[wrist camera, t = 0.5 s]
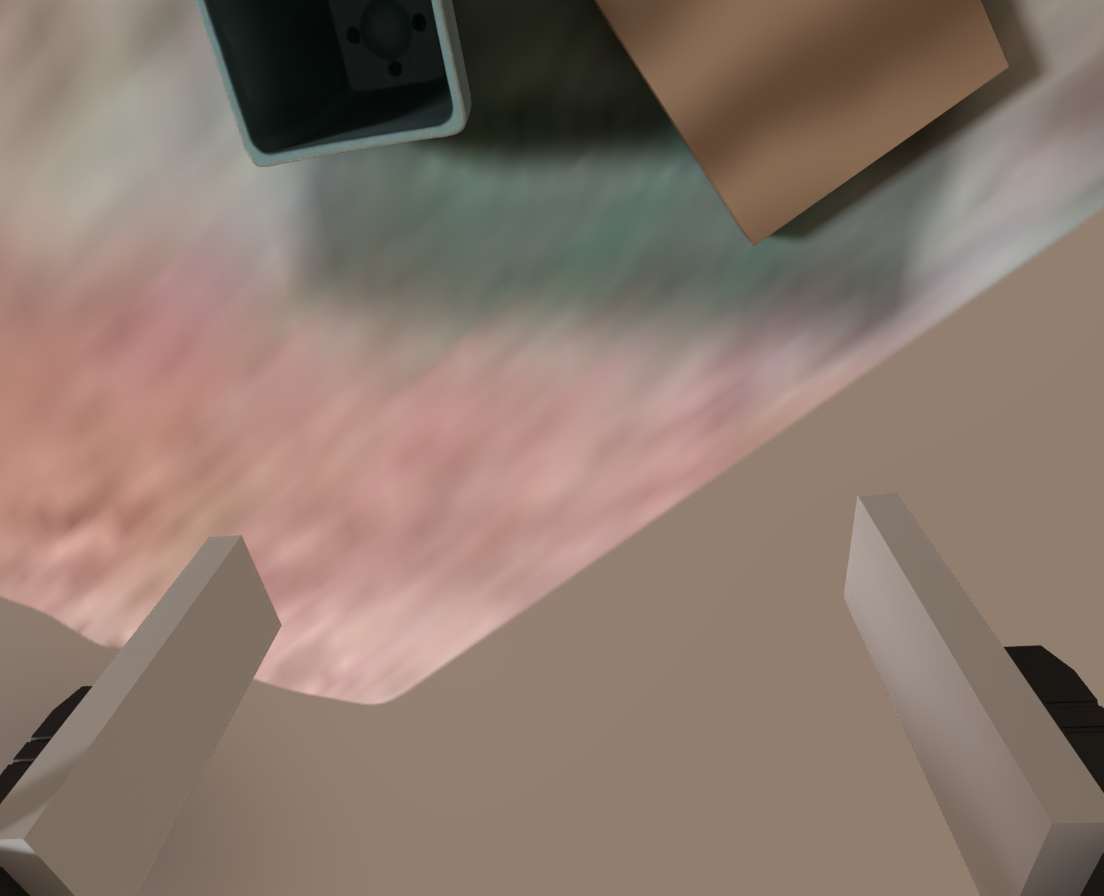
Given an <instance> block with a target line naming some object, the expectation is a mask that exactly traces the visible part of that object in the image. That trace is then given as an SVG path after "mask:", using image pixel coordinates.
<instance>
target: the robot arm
mask: <svg viewBox="0 0 1104 896" xmlns="http://www.w3.org/2000/svg"><path fill="white" fill-rule="evenodd" d="M844 599H845V601H846V603H847V606H848V608H849V610H850V612H851V614H852V617H853V619H854V621H855V623H856V625H857V628H858V630H859V632H860V634H861V636H862V638H863V641H864V643H865V645H866V647H867V649H868V651H869V654H870V656H871V658H872V660H873V663H874V664H875V667H876V669H877V671H878V673H879V676H880V678H881V680H882V682H883V684H884V687H885V689H886V691H887V693H888V695H889V697H890V699H891V702H892V704H893V706H894V708H895V711H896V713H897V715H898V717H899V719H900V721H901V723H902V726H903V728H904V730H905V732H906V735H907V737H908V739H909V741H910V743H911V746H912V748H913V750H914V752H915V754H916V756H917V759H918V761H919V763H920V765H921V767H922V770H923V772H924V774H925V776H926V778H927V780H928V782H929V785H930V787H931V789H932V791H933V794H934V796H935V798H936V800H937V802H938V804H939V807H940V809H941V811H942V813H943V815H944V817H945V820H946V822H947V824H948V826H949V829H950V831H951V833H952V835H953V837H954V839H955V842H956V844H957V846H958V848H959V850H960V852H961V855H962V857H963V859H964V861H965V863H966V866H967V868H968V870H969V872H970V874H971V876H972V879H973V881H974V883H975V885H976V887H977V890H978V892H979V894H980V896H1104V708H1103V707H1102V706H1099V705H1098V703H1097V699H1096V698H1095V696H1094V695H1093V694H1092V693H1091V691H1090V690H1089V689H1088V687H1087V686H1086V685H1085V684H1084V682H1083V681H1082V680H1081V679H1080V677H1079V676H1078V675H1077V673H1076V672H1075V671H1074V670H1073V669H1072V668H1070V667H1069V666H1068V665H1066V664H1065V663H1063V662H1062V661H1061V660H1060V659H1058V658H1057V657H1056V656H1054V655H1053V654H1052V653H1050V652H1049V651H1047V650H1046V649H1045V648H1044V647H1042V646H1040V645H1039V646H1016V647H1003V646H1002V644H1001V643H1000V641H999V640H998V638H997V637H996V636H995V634H994V633H993V631H992V630H991V628H990V627H989V625H988V624H987V623H986V621H985V620H984V618H983V617H982V615H981V614H980V612H979V611H978V609H977V608H976V606H975V605H974V604H973V602H972V601H971V599H970V598H969V596H968V595H967V593H966V592H965V590H964V589H963V588H962V586H961V585H960V583H959V582H958V580H957V579H956V577H955V576H954V574H953V573H952V571H951V570H950V569H949V567H948V566H947V564H946V563H945V561H944V560H943V558H942V557H941V555H940V554H939V553H938V551H937V550H936V548H935V547H934V545H933V544H932V542H931V541H930V539H929V538H928V537H927V535H926V534H925V532H924V531H923V529H922V528H921V526H920V525H919V523H918V522H917V521H916V519H915V518H914V516H913V515H912V513H911V512H910V510H909V509H908V508H907V506H906V504H905V503H904V502H903V500H902V499H901V497H900V496H899V494H898V493H890V494H889V493H888V494H873V495H859V496H858V497H857V505H856V512H855V519H854V527H853V533H852V541H851V548H850V555H849V563H848V570H847V578H846V585H845V591H844ZM280 627H281V623H280V621H279V619H278V616H277V614H276V612H275V610H274V607H273V605H272V603H271V601H270V598H269V596H268V594H267V592H266V589H265V587H264V585H263V583H262V580H261V578H260V576H259V574H258V571H257V569H256V567H255V565H254V562H253V560H252V558H251V556H250V553H249V551H248V549H247V547H246V544H245V542H244V540H243V538H242V535H240V536H224V537H209V538H208V539H207V541H206V542H205V543H204V545H203V546H202V547H201V548H200V550H199V551H198V552H197V554H196V555H195V556H194V557H193V559H192V560H191V561H190V562H189V564H188V565H187V566H186V568H185V569H184V570H183V571H182V573H181V574H180V575H179V577H178V578H177V579H176V580H175V582H174V583H173V584H172V586H171V587H170V588H169V589H168V591H167V592H166V593H165V594H164V596H163V597H162V598H161V600H160V601H159V602H158V603H157V605H156V606H155V607H154V609H153V610H152V611H151V612H150V614H149V615H148V616H147V617H146V619H145V620H144V621H143V623H142V624H141V625H140V626H139V628H138V629H137V630H136V632H135V633H134V634H133V635H132V637H131V638H130V639H129V640H128V642H127V643H126V644H125V646H124V647H123V648H122V649H121V651H120V652H119V653H118V655H117V656H116V657H115V658H114V660H113V661H112V662H111V663H110V665H109V666H108V667H107V669H106V670H105V671H104V672H103V674H102V675H101V676H100V678H99V679H98V680H97V681H96V683H95V684H94V685H93V686H83V687H81V688H80V689H78V690H77V691H76V692H75V693H74V694H72V695H71V696H70V697H69V698H68V699H66V700H65V701H64V702H63V703H61V704H60V705H59V706H58V707H56V708H55V709H54V710H53V711H52V712H51V713H50V715H49V716H48V717H47V718H46V719H45V721H44V722H43V723H42V724H41V726H40V727H39V728H38V729H37V731H36V732H35V733H34V734H33V735H32V737H31V738H32V739H31V742H27V743H26V744H25V745H24V747H23V748H22V749H21V750H20V751H19V753H18V754H17V755H16V756H15V758H14V759H13V760H14V762H13V764H12V765H8V766H7V767H6V769H5V770H4V771H3V772H2V774H1V775H0V896H136V895H137V893H138V891H139V889H140V887H141V886H142V884H143V882H144V880H145V878H146V876H147V874H148V873H149V871H150V869H151V867H152V865H153V863H154V861H155V860H156V858H157V856H158V854H159V852H160V850H161V848H162V846H163V845H164V843H165V841H166V839H167V837H168V835H169V833H170V832H171V830H172V828H173V826H174V824H175V822H176V820H177V819H178V817H179V815H180V813H181V811H182V809H183V807H184V806H185V804H186V802H187V800H188V798H189V796H190V795H191V793H192V791H193V789H194V787H195V785H196V783H197V782H198V780H199V778H200V776H201V774H202V772H203V770H204V768H205V767H206V764H207V763H208V761H209V759H210V757H211V755H212V753H213V752H214V750H215V748H216V746H217V744H218V742H219V741H220V739H221V737H222V735H223V733H224V731H225V729H226V728H227V726H228V724H229V722H230V720H231V718H232V716H233V714H234V712H235V711H236V709H237V707H238V705H239V703H240V701H241V700H242V698H243V696H244V694H245V692H246V690H247V689H248V687H249V685H250V683H251V681H252V679H253V677H254V676H255V674H256V672H257V670H258V668H259V666H260V664H261V663H262V661H263V659H264V657H265V655H266V653H267V651H268V650H269V648H270V646H271V644H272V642H273V640H274V638H275V636H276V635H277V633H278V631H279V629H280Z"/></svg>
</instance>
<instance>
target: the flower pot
mask: <svg viewBox="0 0 1104 896" xmlns="http://www.w3.org/2000/svg"><path fill="white" fill-rule="evenodd" d="M195 4H196V7H197V9H198V11H199V14H200V18H201V21H202V24H203V26H204V29H205V32H206V36H207V38H208V40H209V43H210V46H211V49H212V52H213V55H214V57H215V61H216V65H217V68H218V70H219V72H220V76H221V79H222V82H223V85H224V87H225V92H226V95H227V97H228V99H229V102H230V106H231V109H232V112H233V115H234V117H235V121H236V124H237V127H238V130H239V133H240V135H241V139H242V142H243V145H244V147H245V150H246V152H247V154H248V156H249V158H250V159H251V161H252V162H253V163H254V164H255V165H256V166H259V167H268V166H274V165H279V164H283V163H289V162H294V161H299V160H304V159H310V158H314V157H321V156H325V155H331V154H336V153H342V152H348V151H354V150H360V149H366V148H372V147H378V146H384V145H391V144H397V143H403V142H409V141H417V140H424V139H431V138H438V137H447V136H451V135H455V134H458V133H459V132H461V131H462V130H463V129H464V127H465V125H466V122H467V120H468V117H469V114H470V110H471V95H470V90H469V85H468V80H467V74H466V69H465V64H464V59H463V54H462V49H461V44H460V39H459V34H458V29H457V23H456V18H455V13H454V8H453V3H452V0H195ZM418 17H422V18H423V19H424V20H425V22H426V27H425V29H424V30H419V29H418V28H417V27H416V24H415V22H416V19H417V18H418ZM352 29H354V30H356V31H357V32H358V33H359V36H360V39H359V41H358V42H356V43H353V42H352V41H350V39H349V32H350V30H352ZM393 63H398V64H399V65H400V66H401V69H402V71H401V73H400V74H399V75H394V74H393V73H392V71H391V66H392V64H393Z"/></svg>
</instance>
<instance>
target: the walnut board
mask: <svg viewBox="0 0 1104 896" xmlns="http://www.w3.org/2000/svg"><path fill="white" fill-rule="evenodd" d="M593 1H594V3H595V4H596V6H597V8H598V9H599V11H600V12H601V14H602V15H603V17H604V18H605V20H606V22H607V23H608V25H609V26H610V28H611V29H612V31H613V32H614V34H615V35H616V37H617V39H618V40H619V42H620V43H621V45H622V46H623V48H624V49H625V51H626V53H627V54H628V56H629V57H630V59H631V60H632V62H633V63H634V65H635V66H636V68H637V70H638V71H639V73H640V74H641V76H642V77H643V79H644V80H645V82H646V84H647V85H648V87H649V88H650V90H651V91H652V93H653V94H654V96H655V97H656V99H657V101H658V102H659V104H660V105H661V107H662V108H663V110H664V111H665V113H666V115H667V116H668V118H669V119H670V121H671V122H672V124H673V125H674V127H675V128H676V130H677V132H678V133H679V135H680V136H681V138H682V139H683V141H684V142H685V144H686V146H687V147H688V149H689V150H690V152H691V153H692V155H693V156H694V158H695V159H696V161H697V163H698V164H699V166H700V167H701V169H702V170H703V172H704V173H705V175H706V177H707V178H708V180H709V181H710V183H711V184H712V186H713V187H714V189H715V190H716V192H717V194H718V195H719V197H720V198H721V200H722V201H723V203H724V204H725V206H726V208H727V209H728V211H729V212H730V214H731V215H732V217H733V218H734V220H735V221H736V223H737V225H738V226H739V228H740V229H741V231H742V232H743V234H744V235H745V236H746V237H747V238H748V240H749V241H750V242H751V243H752V244H753V246H755V245H757V244H758V243H759V242H761V241H762V240H764V239H765V238H766V237H768V236H769V235H771V234H772V233H774V232H775V231H776V230H778V229H779V228H781V227H782V226H784V225H785V224H786V223H788V222H789V221H791V220H792V219H793V218H795V217H796V216H798V215H799V214H801V213H802V212H803V211H805V210H806V209H808V208H809V207H811V206H812V205H813V204H815V203H816V202H818V201H819V200H820V199H822V198H823V197H825V196H826V195H828V194H829V193H830V192H832V191H833V190H835V189H836V188H838V187H839V186H840V185H842V184H843V183H845V182H846V181H847V180H849V179H850V178H852V177H853V176H855V175H856V174H857V173H859V172H860V171H862V170H863V169H865V168H866V167H867V166H869V165H870V164H872V163H873V162H874V161H876V160H877V159H879V158H880V157H882V156H883V155H884V154H886V153H887V152H889V151H890V150H892V149H893V148H894V147H896V146H897V145H899V144H900V143H901V142H903V141H904V140H906V139H907V138H909V137H910V136H911V135H913V134H914V133H916V132H917V131H918V130H920V129H921V128H923V127H924V126H926V125H927V124H928V123H930V122H931V121H933V120H934V119H936V118H937V117H938V116H940V115H941V114H943V113H944V112H945V111H947V110H948V109H950V108H951V107H953V106H954V105H955V104H957V103H958V102H960V101H961V100H963V99H964V98H965V97H967V96H968V95H970V94H971V93H972V92H974V91H975V90H977V89H978V88H980V87H981V86H982V85H984V84H985V83H987V82H988V81H990V80H991V79H992V78H994V77H995V76H997V75H998V74H999V73H1001V72H1002V71H1004V70H1005V69H1007V68H1008V67H1009V65H1008V63H1007V61H1006V58H1005V56H1004V54H1003V51H1002V49H1001V46H1000V44H999V42H998V39H997V37H996V35H995V32H994V30H993V28H992V25H991V23H990V21H989V18H988V16H987V13H986V11H985V9H984V6H983V4H982V2H981V0H593Z"/></svg>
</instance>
